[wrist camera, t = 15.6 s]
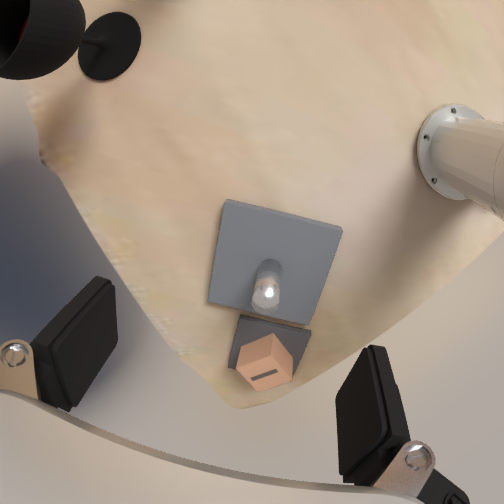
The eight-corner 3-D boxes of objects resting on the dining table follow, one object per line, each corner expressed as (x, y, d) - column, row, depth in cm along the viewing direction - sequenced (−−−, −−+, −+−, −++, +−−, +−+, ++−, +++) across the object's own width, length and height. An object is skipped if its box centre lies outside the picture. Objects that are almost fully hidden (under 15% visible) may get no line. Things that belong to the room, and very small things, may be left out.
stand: (341, 227, 40) (342, 231, 39) (308, 319, 47) (308, 325, 45) (227, 199, 40) (224, 202, 39) (210, 295, 47) (207, 301, 46)
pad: (310, 330, 47) (311, 334, 46) (291, 377, 52) (290, 381, 51) (240, 314, 48) (239, 318, 47) (228, 363, 52) (227, 367, 52)
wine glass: (76, 28, 32) (-28, 13, 14) (137, 1, 30) (40, -44, 12) (83, 90, 36) (-28, 99, 18) (146, 67, 34) (39, 50, 16)
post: (284, 262, 41) (281, 295, 34) (278, 281, 43) (275, 316, 36) (261, 256, 41) (254, 288, 34) (257, 276, 43) (248, 310, 36)
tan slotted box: (273, 332, 47) (270, 355, 43) (293, 357, 49) (292, 380, 44) (241, 346, 49) (235, 369, 45) (261, 369, 51) (258, 392, 46)
